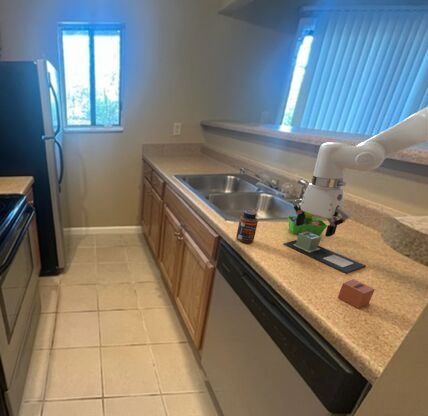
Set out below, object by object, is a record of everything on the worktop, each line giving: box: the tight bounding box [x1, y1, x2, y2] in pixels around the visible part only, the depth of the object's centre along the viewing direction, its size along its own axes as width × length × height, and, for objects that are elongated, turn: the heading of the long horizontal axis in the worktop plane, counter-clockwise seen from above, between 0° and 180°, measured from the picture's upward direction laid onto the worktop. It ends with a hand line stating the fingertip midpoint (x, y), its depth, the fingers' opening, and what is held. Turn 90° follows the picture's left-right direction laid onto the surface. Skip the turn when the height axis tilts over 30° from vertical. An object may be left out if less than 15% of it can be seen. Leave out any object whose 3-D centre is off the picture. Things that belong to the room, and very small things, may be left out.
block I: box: [337, 278, 376, 309], centre depth 71 cm, size 5×5×5 cm
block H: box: [296, 232, 322, 251], centre depth 96 cm, size 5×5×5 cm
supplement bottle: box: [235, 209, 259, 244], centre depth 101 cm, size 6×6×11 cm
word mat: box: [282, 239, 366, 274], centre depth 93 cm, size 20×10×1 cm, turn 22°
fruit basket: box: [287, 212, 328, 237], centre depth 107 cm, size 11×9×11 cm
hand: (313, 230), depth 94 cm, fingers open, 9 cm apart
